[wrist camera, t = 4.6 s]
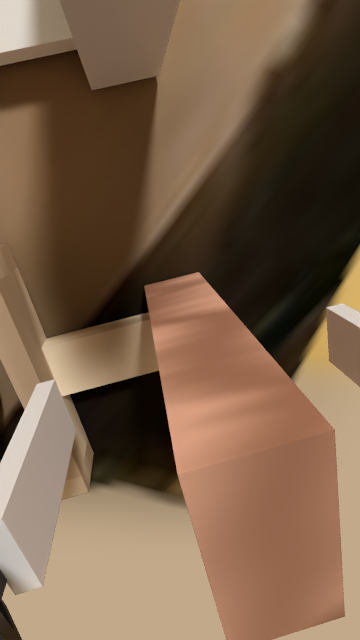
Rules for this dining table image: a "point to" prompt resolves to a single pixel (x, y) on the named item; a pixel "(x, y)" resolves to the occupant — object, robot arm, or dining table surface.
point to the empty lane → (90, 35)
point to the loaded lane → (209, 443)
